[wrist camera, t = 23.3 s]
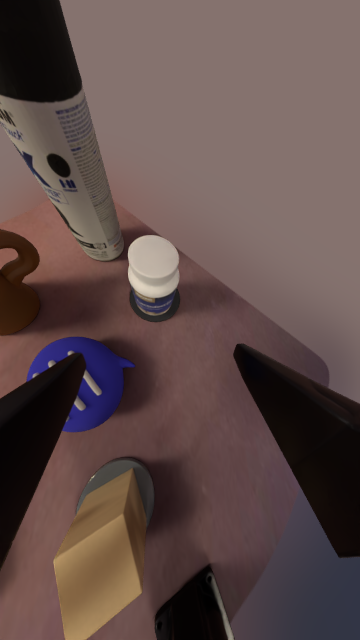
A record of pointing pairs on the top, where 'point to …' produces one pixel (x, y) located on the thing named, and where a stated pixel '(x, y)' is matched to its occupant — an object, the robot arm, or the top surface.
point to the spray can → (55, 122)
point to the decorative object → (87, 380)
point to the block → (102, 557)
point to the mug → (17, 285)
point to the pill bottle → (153, 273)
